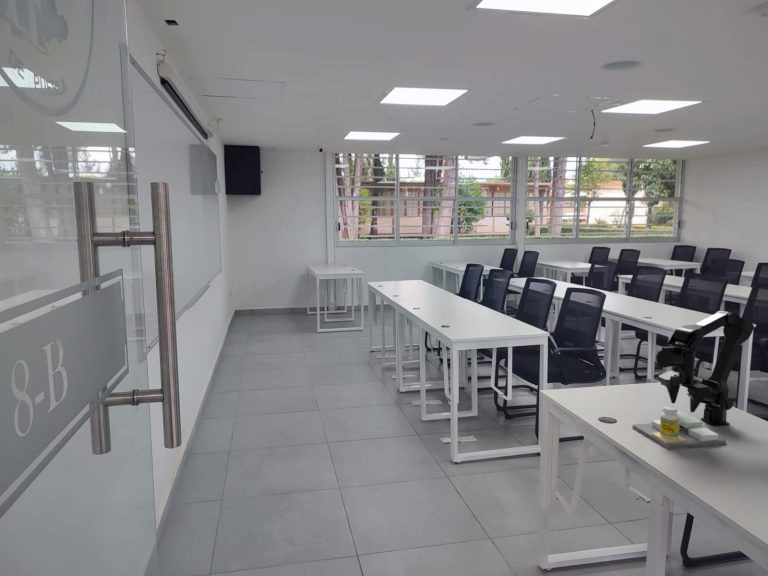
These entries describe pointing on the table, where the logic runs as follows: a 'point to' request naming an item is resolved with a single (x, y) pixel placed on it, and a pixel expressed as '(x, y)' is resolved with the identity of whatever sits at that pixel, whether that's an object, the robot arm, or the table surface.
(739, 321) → the robot arm
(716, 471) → the table surface
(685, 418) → the green key
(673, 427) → the supplement bottle
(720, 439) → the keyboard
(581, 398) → the table surface
